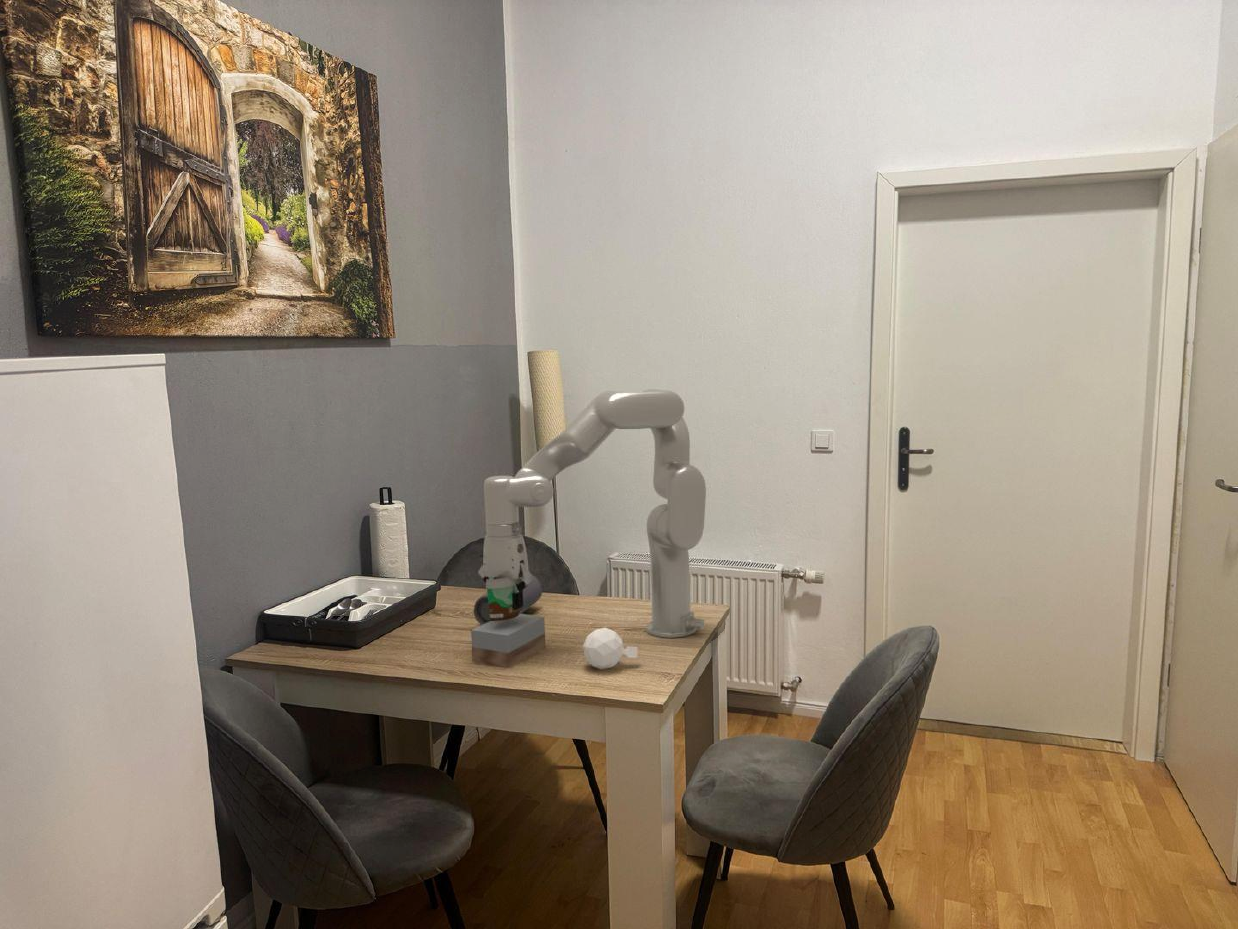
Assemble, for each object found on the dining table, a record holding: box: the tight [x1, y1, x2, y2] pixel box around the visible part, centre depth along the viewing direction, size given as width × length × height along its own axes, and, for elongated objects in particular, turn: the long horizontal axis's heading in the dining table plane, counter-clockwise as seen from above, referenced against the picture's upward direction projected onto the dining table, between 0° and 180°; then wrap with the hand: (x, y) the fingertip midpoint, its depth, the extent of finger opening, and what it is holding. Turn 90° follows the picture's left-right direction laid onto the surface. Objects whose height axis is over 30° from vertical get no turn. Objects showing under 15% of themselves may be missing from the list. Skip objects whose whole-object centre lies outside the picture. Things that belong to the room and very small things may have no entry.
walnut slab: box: [471, 633, 546, 669], centre depth 200 cm, size 10×15×4 cm, turn 151°
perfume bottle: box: [582, 627, 639, 670], centre depth 189 cm, size 9×9×12 cm
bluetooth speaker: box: [473, 574, 543, 626], centre depth 227 cm, size 23×9×10 cm, turn 159°
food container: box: [485, 574, 523, 621], centre depth 198 cm, size 12×6×10 cm, turn 166°
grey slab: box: [470, 613, 546, 653], centre depth 199 cm, size 10×15×4 cm, turn 152°
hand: (506, 606), depth 198 cm, fingers closed on food container, 5 cm apart
